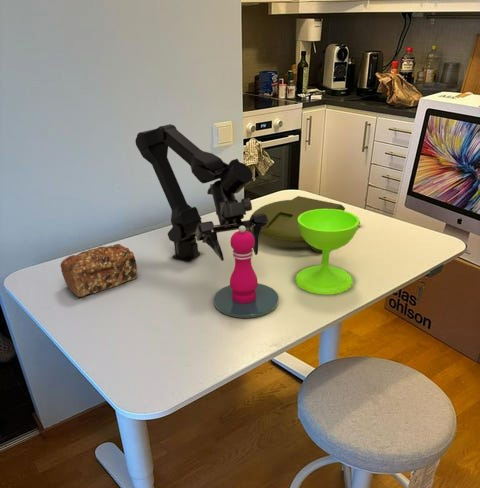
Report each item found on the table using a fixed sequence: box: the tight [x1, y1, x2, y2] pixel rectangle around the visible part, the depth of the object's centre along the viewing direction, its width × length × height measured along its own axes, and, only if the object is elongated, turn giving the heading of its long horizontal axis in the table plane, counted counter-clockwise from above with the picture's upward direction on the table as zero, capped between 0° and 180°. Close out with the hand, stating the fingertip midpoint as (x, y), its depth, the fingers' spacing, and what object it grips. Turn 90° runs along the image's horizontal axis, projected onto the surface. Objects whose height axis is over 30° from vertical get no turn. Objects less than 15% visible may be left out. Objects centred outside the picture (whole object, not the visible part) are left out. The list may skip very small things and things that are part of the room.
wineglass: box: [295, 209, 360, 296], centre depth 134 cm, size 16×16×18 cm
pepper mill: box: [229, 226, 259, 303], centre depth 124 cm, size 7×7×20 cm
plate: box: [213, 282, 280, 319], centre depth 130 cm, size 17×17×1 cm
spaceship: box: [246, 195, 361, 253], centre depth 165 cm, size 35×31×10 cm
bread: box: [59, 243, 138, 298], centre depth 139 cm, size 19×11×10 cm, turn 127°
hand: (239, 257), depth 127 cm, fingers open, 9 cm apart
